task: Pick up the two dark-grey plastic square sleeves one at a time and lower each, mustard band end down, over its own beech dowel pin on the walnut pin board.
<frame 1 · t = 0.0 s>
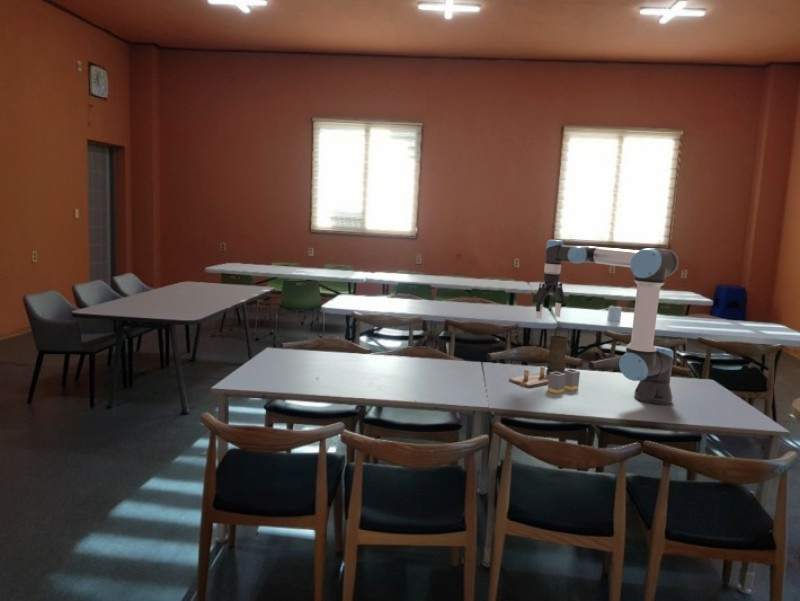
hand: (547, 317, 283), 28 cm above the table, fingers open, 13 cm apart
container: (555, 373, 291), on the table
sleeve a: (570, 388, 266), on the table
sleeve b: (555, 391, 260), on the table
pin board: (533, 381, 274), on the table
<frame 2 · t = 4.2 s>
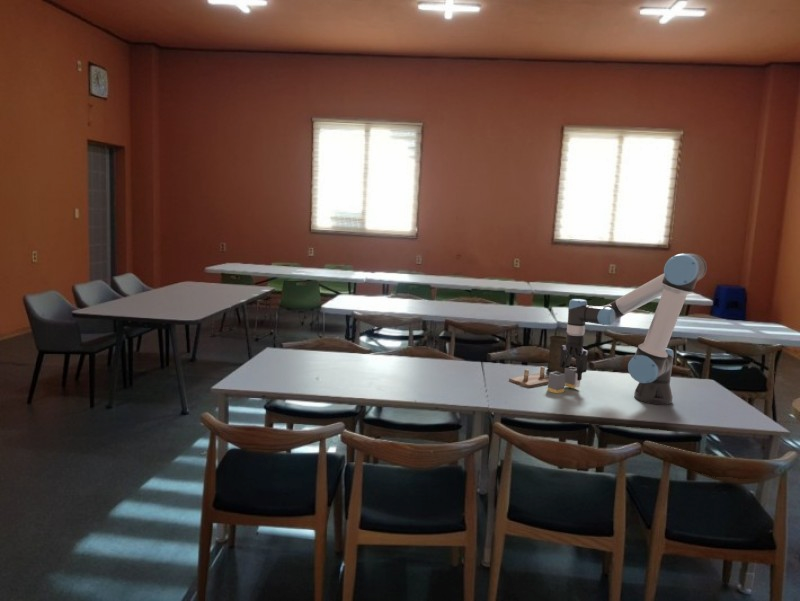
hand: (571, 385, 266), 1 cm above the table, fingers closed on sleeve a, 5 cm apart
sleeve a: (571, 386, 266), point 1 cm above the table, touching gripper
everything else where it was.
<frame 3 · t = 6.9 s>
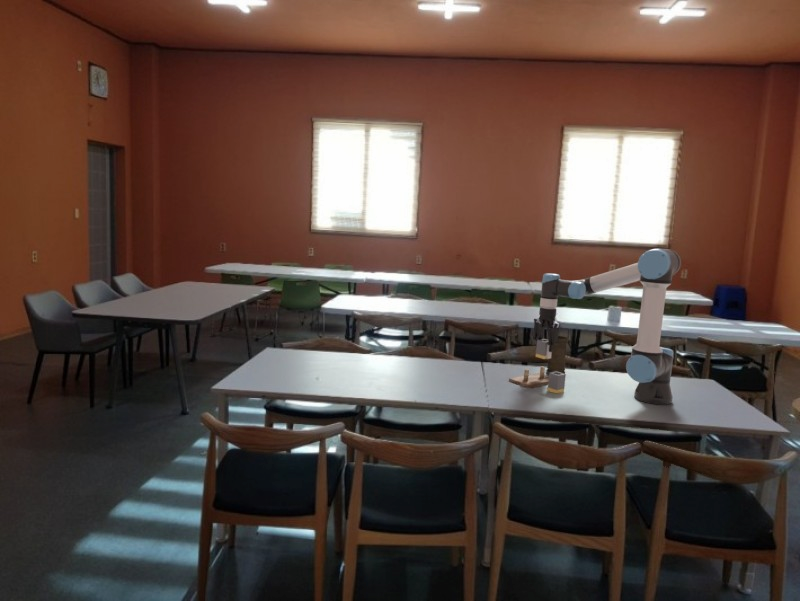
hand: (543, 356, 276), 11 cm above the table, fingers closed on sleeve a, 5 cm apart
sleeve a: (543, 357, 276), point 11 cm above the table, touching gripper
everything else where it was.
when the fingers open (2 cm above the table, at t = 9.2 s): sleeve a stays where it is, resting on pin board.
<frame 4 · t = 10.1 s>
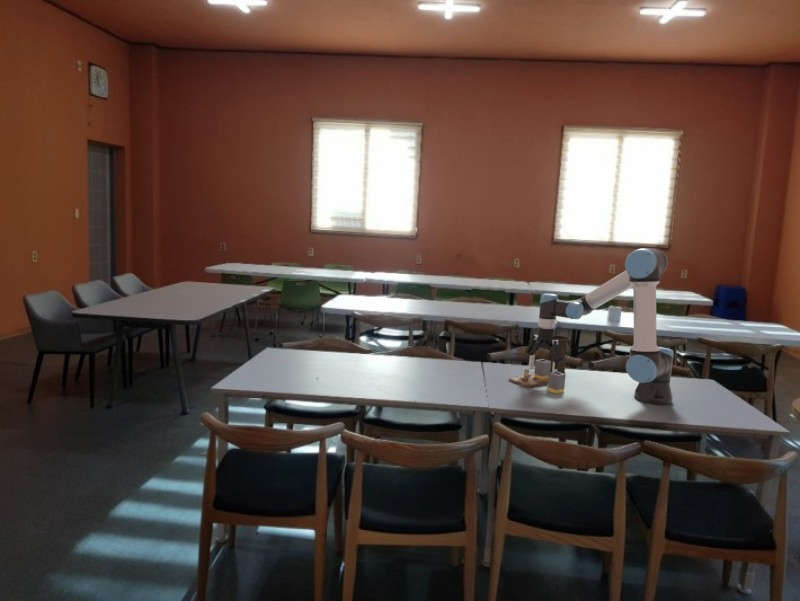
hand: (542, 372, 277), 4 cm above the table, fingers open, 13 cm apart
sleeve a: (541, 377, 277), point 1 cm above the table, touching pin board
everything else where it was.
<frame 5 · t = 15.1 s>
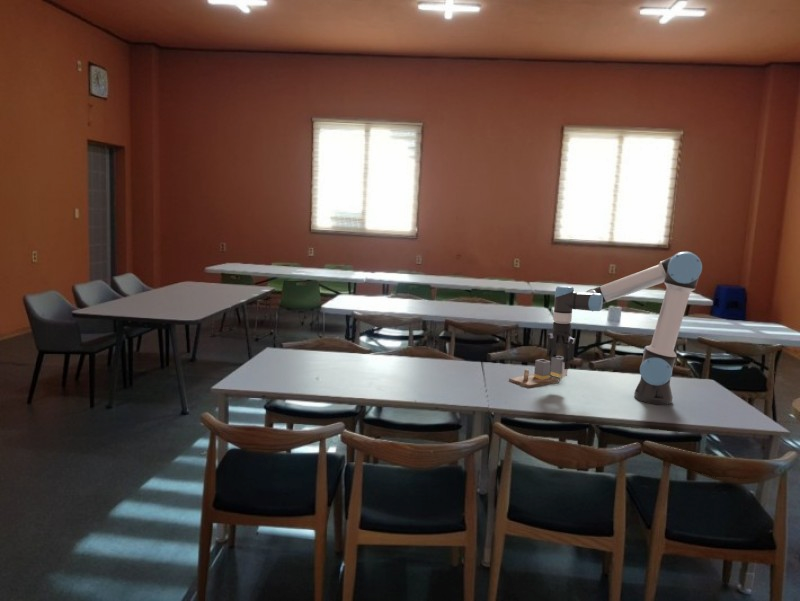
hand: (558, 374, 259), 8 cm above the table, fingers closed on sleeve b, 5 cm apart
sleeve b: (558, 375, 259), point 7 cm above the table, touching gripper
everything else where it was.
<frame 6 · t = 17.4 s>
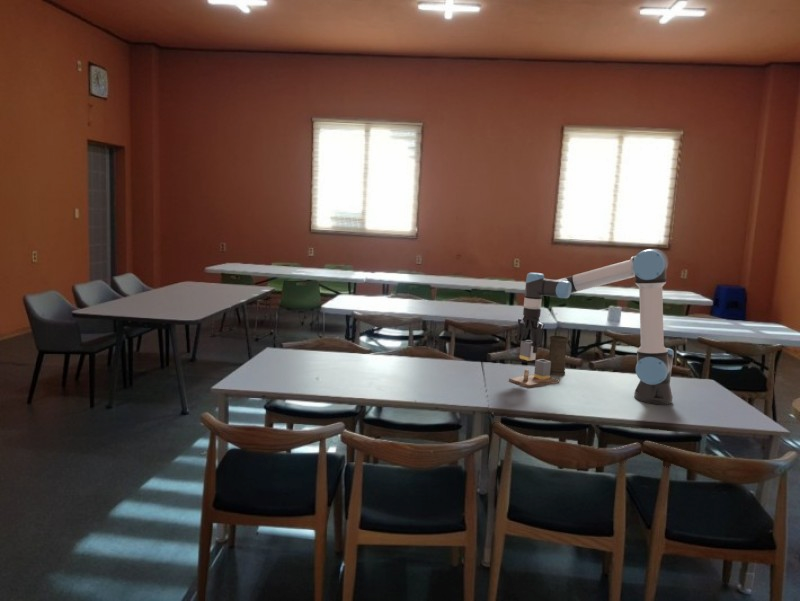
hand: (527, 358, 269), 12 cm above the table, fingers closed on sleeve b, 5 cm apart
sleeve b: (527, 358, 269), point 11 cm above the table, touching gripper
everything else where it was.
when the fingers open (2 cm above the table, at t = 19.8 s): sleeve b stays where it is, resting on pin board.
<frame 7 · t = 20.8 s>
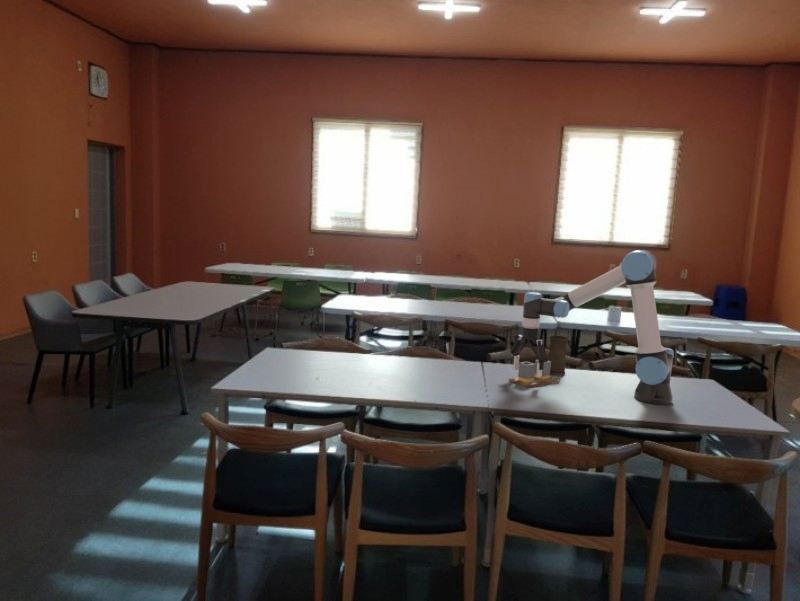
hand: (527, 373, 270), 5 cm above the table, fingers open, 13 cm apart
sleeve b: (525, 380, 270), point 1 cm above the table, touching pin board
everything else where it was.
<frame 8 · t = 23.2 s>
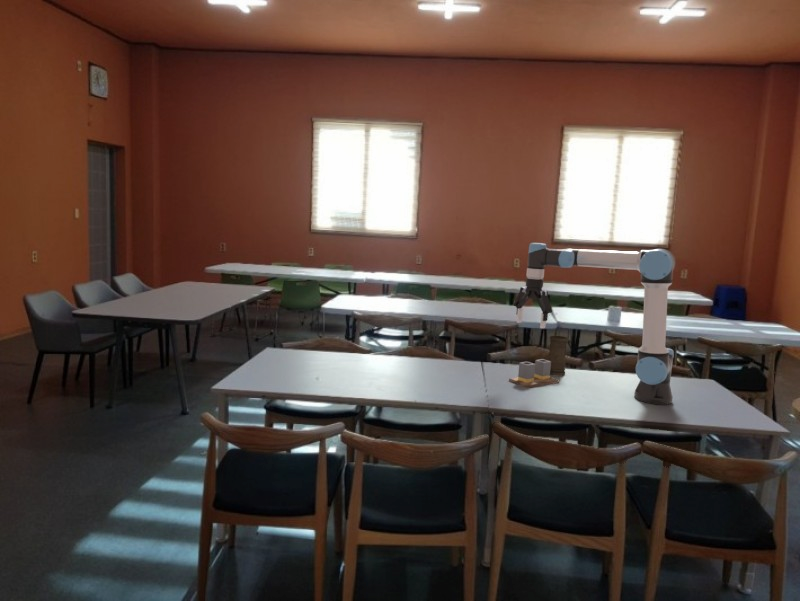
hand: (530, 325, 267), 27 cm above the table, fingers open, 13 cm apart
nothing on the table moved.
at the end: sleeve a 0.0 cm from the target spot on the pin board, point 1.2 cm above the pin board's base; sleeve b 0.0 cm from the target spot on the pin board, point 1.2 cm above the pin board's base; sleeve b tilted 0° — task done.
